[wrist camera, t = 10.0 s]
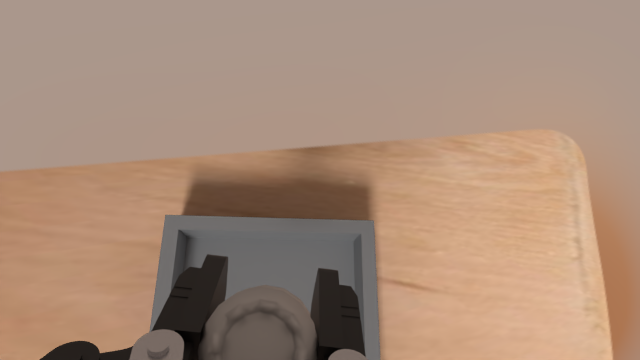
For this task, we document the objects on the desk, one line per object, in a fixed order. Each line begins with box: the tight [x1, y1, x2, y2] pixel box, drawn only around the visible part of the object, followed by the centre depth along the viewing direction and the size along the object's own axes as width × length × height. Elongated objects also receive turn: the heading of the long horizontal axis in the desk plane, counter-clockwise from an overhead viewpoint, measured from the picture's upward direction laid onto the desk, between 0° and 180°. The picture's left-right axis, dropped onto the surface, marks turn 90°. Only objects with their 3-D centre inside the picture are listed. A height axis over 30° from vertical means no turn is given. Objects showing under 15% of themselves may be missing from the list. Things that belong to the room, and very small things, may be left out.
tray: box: [150, 215, 380, 360], centre depth 28 cm, size 15×15×4 cm
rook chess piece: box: [198, 285, 318, 360], centre depth 14 cm, size 4×4×8 cm
